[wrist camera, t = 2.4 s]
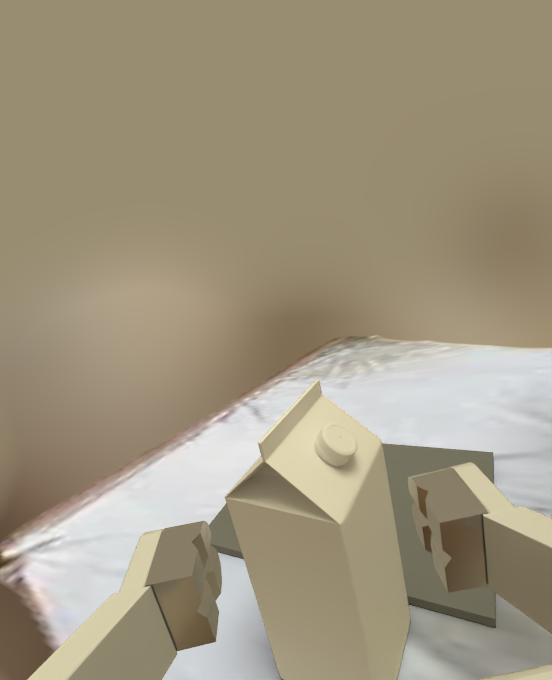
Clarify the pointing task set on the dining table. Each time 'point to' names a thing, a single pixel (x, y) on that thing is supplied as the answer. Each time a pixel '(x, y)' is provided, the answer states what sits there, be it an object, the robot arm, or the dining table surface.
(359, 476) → the milk carton
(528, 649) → the dining table surface
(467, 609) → the mat
